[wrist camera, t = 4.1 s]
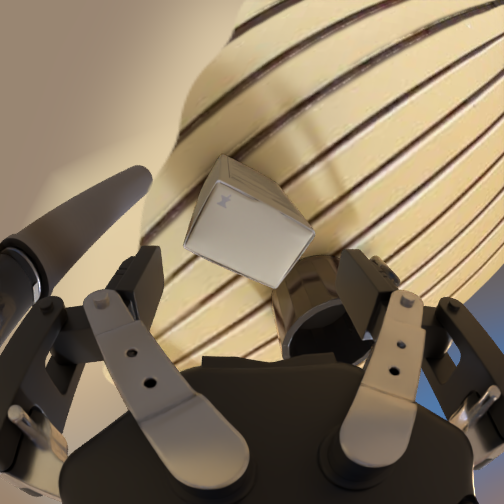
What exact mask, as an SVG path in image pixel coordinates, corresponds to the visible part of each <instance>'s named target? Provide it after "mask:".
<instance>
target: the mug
mask: <svg viewBox="0 0 504 504" xmlns="http://www.w3.org/2000/svg"><path fill="white" fill-rule="evenodd" d="M370 261H372V262H374V263H375V264H377V265H378V266H379V267H380V268H381V269H382V270H383V273H385V274H386V275H387V278H389V279H390V280H391V281H392V282H393V283H394V284H395V286H396V287H398V286H399V285H400V279H399V278H398V277H397V275H396V274H395V273H394V272H393V271H392V270H391V269H390V268H389V267H388V266H387V265H386V264H385V263H384V262H383V261H382V259H381V258H380V257H378V256H373V257H372V258H371V259H370ZM339 262H340V258H337V257H334V256H329V255H316V256H311V257H307V258H304V259H302V260H299V261H298V262H296V264H295V265H294V266H293V268H292V269H291V270H290V271H289V273H288V274H287V275H286V277H285V278H284V279H283V280H282V282H281V283H280V285H279V286H278V287H277V288H276V289H274V288H273V291H272V296H271V302H272V308H273V315H274V320H275V324H276V329H277V334H278V339H279V344H280V348H281V353H282V357H283V359H284V360H285V359H289V358H293V357H296V356H300V355H306V354H320V353H331V352H333V353H334V356H335V358H336V361H337V362H344V363H348V364H352V365H355V366H356V365H358V364H359V363H361V362H362V361H364V360H365V359H366V358H367V357H368V354H369V352H370V349H371V347H372V345H373V342H374V340H373V339H370V340H361V338H360V336H359V334H358V332H357V330H356V328H355V326H354V324H353V322H352V320H351V318H350V316H349V315H348V313H347V311H346V309H345V307H344V305H343V303H342V302H341V300H340V298H339V296H338V294H337V292H336V287H335V282H336V276H337V271H338V267H339Z"/></svg>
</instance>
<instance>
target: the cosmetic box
mask: <svg viewBox="0 0 504 504" xmlns="http://www.w3.org/2000/svg"><path fill="white" fill-rule="evenodd" d="M315 234H316V233H315V231H314V229H313V228H312V227H311V225H310V224H309V223H308V222H307V220H306V219H305V218H304V217H303V215H302V214H301V213H300V211H299V210H298V209H297V208H296V206H295V205H294V204H293V203H292V201H291V200H290V199H289V198H288V196H287V195H286V194H285V193H284V192H283V190H282V189H281V188H280V187H279V185H278V184H277V183H276V182H274V181H272V180H271V179H269V178H268V177H266V176H264V175H262V174H261V173H259V172H257V171H255V170H253V169H252V168H250V167H248V166H246V165H244V164H242V163H240V162H238V161H236V160H234V159H232V158H230V157H228V156H226V155H224V154H221V155H220V156H219V158H218V160H217V161H216V163H215V165H214V166H213V168H212V170H211V172H210V173H209V175H208V177H207V179H206V181H205V183H204V185H203V187H202V189H201V191H200V194H199V197H198V200H197V203H196V206H195V209H194V212H193V215H192V218H191V221H190V224H189V227H188V230H187V234H186V237H185V240H184V244H183V246H184V248H185V249H187V250H189V251H191V252H192V253H194V254H196V255H198V256H200V257H202V258H204V259H206V260H208V261H210V262H212V263H214V264H217V265H219V266H221V267H224V268H226V269H228V270H230V271H232V272H235V273H237V274H239V275H242V276H244V277H246V278H249V279H251V280H253V281H256V282H259V283H261V284H264V285H266V286H269V287H271V288H274V289H276V288H277V287H278V286H279V285H280V283H281V282H282V280H283V279H284V278H285V277H286V275H287V274H288V273H289V271H290V270H291V269H292V268H293V266H294V265H295V264H296V262H297V261H298V259H299V258H300V257H301V255H302V254H303V253H304V251H305V250H306V248H307V247H308V246H309V244H310V243H311V241H312V240H313V238H314V237H315Z"/></svg>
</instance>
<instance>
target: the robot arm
mask: <svg viewBox="0 0 504 504" xmlns="http://www.w3.org/2000/svg"><path fill="white" fill-rule="evenodd" d="M335 287H336V292H337V294H338V296H339V298H340V300H341V302H342V303H343V305H344V307H345V309H346V311H347V313H348V315H349V316H350V318H351V320H352V322H353V324H354V326H355V328H356V330H357V332H358V334H359V336H360V338H361V340H370V339H373V340H374V342H373V345H372V347H371V349H370V352H369V354H368V357H367V359H366V362H365V364H364V367H363V369H362V368H360V367H357V366H355V365H352V364H348V363H344V362H337V361H336V358H335V356H334V353H333V352H331V353H320V354H306V355H300V356H296V357H293V358H289V359H285V360H281V361H277V362H262V361H256V360H251V359H245V358H240V357H216V356H202V365H201V366H197V367H193V368H189V369H186V370H184V371H181V372H179V371H178V370H177V368H176V367H175V366H174V365H173V363H172V362H171V361H170V359H169V358H168V357H167V355H166V354H165V353H164V351H163V350H162V349H161V347H160V346H159V345H158V343H157V342H156V340H155V339H154V338H153V336H152V335H151V333H150V332H149V331H150V328H151V325H152V322H153V319H154V316H155V313H156V310H157V307H158V304H159V302H160V299H161V296H162V293H163V289H164V274H163V266H162V257H161V249H160V247H159V246H142V247H141V248H140V250H139V251H138V253H137V254H136V256H131V257H130V258H128V259H126V260H125V261H123V262H122V264H121V265H120V267H119V270H117V271H116V273H115V275H114V276H113V277H112V279H111V280H110V282H109V283H108V285H107V286H106V288H105V289H102V290H98V291H95V292H93V293H91V294H89V295H88V296H87V297H86V298H85V299H84V301H83V305H82V306H75V307H68V308H65V305H64V302H63V300H62V299H61V298H60V297H57V296H49V297H45V298H43V299H41V300H39V301H38V302H36V301H37V300H38V299H39V297H40V296H41V294H42V289H43V284H42V279H41V275H40V272H39V270H38V268H37V266H36V264H35V263H34V261H33V260H32V258H31V257H30V256H29V255H28V254H27V253H26V252H25V251H23V250H22V249H20V248H19V247H16V246H9V247H7V248H5V249H4V250H3V251H2V252H1V253H0V347H1V346H2V344H3V343H4V341H5V340H6V338H7V337H8V336H9V334H10V333H11V332H12V330H13V329H14V328H15V326H16V325H17V323H18V322H19V321H20V320H21V318H22V317H23V316H24V314H25V313H26V312H27V311H28V309H29V308H30V307H31V306H32V304H33V303H34V302H35V304H34V306H33V307H32V308H31V310H30V311H29V313H28V314H27V315H26V317H25V318H24V319H23V321H22V322H21V324H20V325H19V327H18V328H17V330H16V331H15V333H14V334H13V336H12V338H11V339H10V340H9V342H8V344H7V345H6V347H5V349H4V350H3V352H2V353H1V355H0V477H1V478H2V479H4V480H5V481H7V482H8V483H10V484H11V485H13V486H15V487H17V488H19V489H21V490H23V491H24V492H26V493H28V494H29V495H32V496H37V497H38V496H43V495H44V496H47V497H49V498H52V499H54V500H57V501H59V502H62V504H479V503H478V501H477V499H476V496H475V491H474V481H473V470H480V469H482V468H483V467H485V466H486V465H487V464H488V463H490V462H491V461H493V460H494V459H495V458H496V457H497V456H499V455H500V454H501V453H503V452H504V354H503V353H502V352H501V350H500V349H499V348H498V346H497V345H496V344H495V342H494V341H493V340H492V339H491V337H490V336H489V335H488V333H487V332H486V331H485V330H484V328H483V327H482V326H481V325H480V324H479V322H478V321H477V320H476V319H475V318H474V316H473V315H472V314H471V313H470V312H469V310H468V309H467V308H466V307H465V306H464V305H463V304H462V303H461V302H459V301H458V300H456V299H453V298H450V297H443V298H441V299H440V301H439V303H438V306H437V308H436V307H429V306H423V301H422V300H421V298H420V297H419V296H417V295H416V294H414V293H412V292H409V291H406V290H399V289H398V288H397V287H396V286H395V284H394V283H393V282H392V281H391V280H390V279H389V278H387V275H386V274H385V273H383V270H382V269H381V268H380V267H379V266H378V265H377V264H375V263H374V262H372V261H370V260H369V259H368V258H367V257H366V256H365V255H364V254H363V253H362V252H361V250H359V249H344V250H343V251H342V253H341V257H340V262H339V267H338V271H337V276H336V282H335ZM453 341H454V343H455V344H456V346H457V347H458V349H459V350H460V353H461V359H460V362H459V364H458V365H457V367H456V366H455V364H454V362H453V361H452V359H451V357H450V356H449V354H448V353H447V351H448V349H449V347H450V345H451V344H452V342H453ZM49 351H50V353H51V355H52V356H51V358H50V360H49V362H48V364H47V366H46V368H45V360H46V357H47V355H48V353H49ZM97 361H104V362H105V364H106V367H107V369H108V371H109V373H110V375H111V377H112V379H113V381H114V384H115V386H116V388H117V389H118V391H119V393H120V395H121V397H122V399H123V401H124V403H125V405H126V407H127V409H128V411H127V412H126V413H124V414H123V415H122V416H120V417H119V418H118V419H117V420H115V421H114V422H113V423H111V424H110V425H109V426H108V427H106V428H105V429H103V430H102V431H101V432H99V433H98V434H97V435H95V436H94V437H93V438H91V439H90V440H89V441H87V442H86V443H85V444H83V445H82V446H81V447H79V448H78V449H76V450H75V451H74V452H73V453H71V454H70V456H68V445H67V442H66V439H65V438H64V436H63V435H62V433H63V429H64V426H65V422H66V419H67V416H68V412H69V409H70V406H71V403H72V400H73V397H74V394H75V391H76V388H77V385H78V382H79V380H80V377H81V374H82V371H83V369H84V366H85V363H88V362H97ZM421 368H422V370H423V372H424V374H425V376H426V378H427V380H428V382H429V384H430V385H431V387H432V389H433V391H434V393H435V396H436V398H437V400H438V402H439V404H440V406H441V408H442V410H443V412H444V414H445V416H446V418H447V420H445V419H443V418H441V417H440V416H438V415H436V414H435V413H433V412H431V411H430V410H428V409H426V408H425V407H423V406H421V405H420V404H418V403H417V402H415V398H416V393H417V388H418V383H419V376H420V372H421Z"/></svg>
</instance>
